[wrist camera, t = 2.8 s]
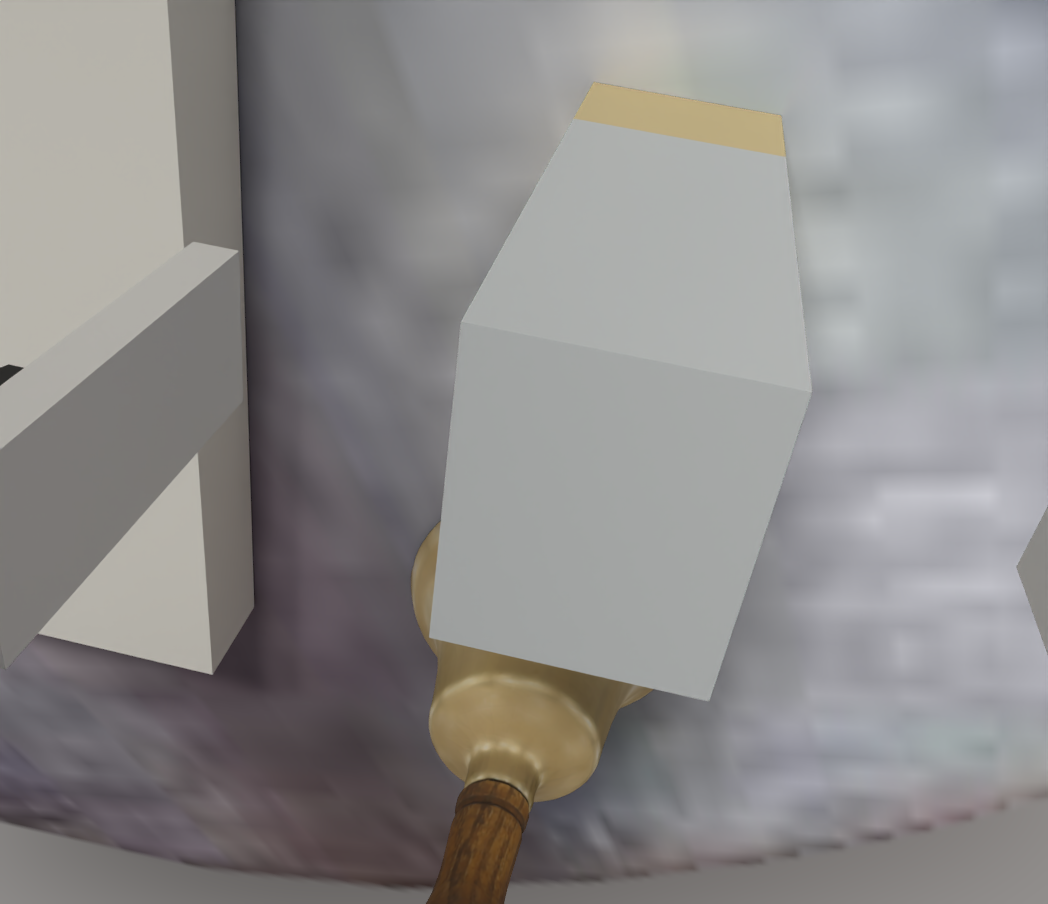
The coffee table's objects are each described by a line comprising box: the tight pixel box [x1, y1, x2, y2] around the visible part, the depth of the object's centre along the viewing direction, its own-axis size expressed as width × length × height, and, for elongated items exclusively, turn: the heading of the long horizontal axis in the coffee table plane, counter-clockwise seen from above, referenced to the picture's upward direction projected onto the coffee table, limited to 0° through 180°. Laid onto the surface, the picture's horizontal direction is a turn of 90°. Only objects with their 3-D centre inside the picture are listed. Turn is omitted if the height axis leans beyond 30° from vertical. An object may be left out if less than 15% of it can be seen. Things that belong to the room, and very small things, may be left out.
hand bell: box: [411, 521, 654, 904], centre depth 23 cm, size 8×8×16 cm
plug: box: [429, 82, 812, 702], centre depth 18 cm, size 5×4×12 cm
